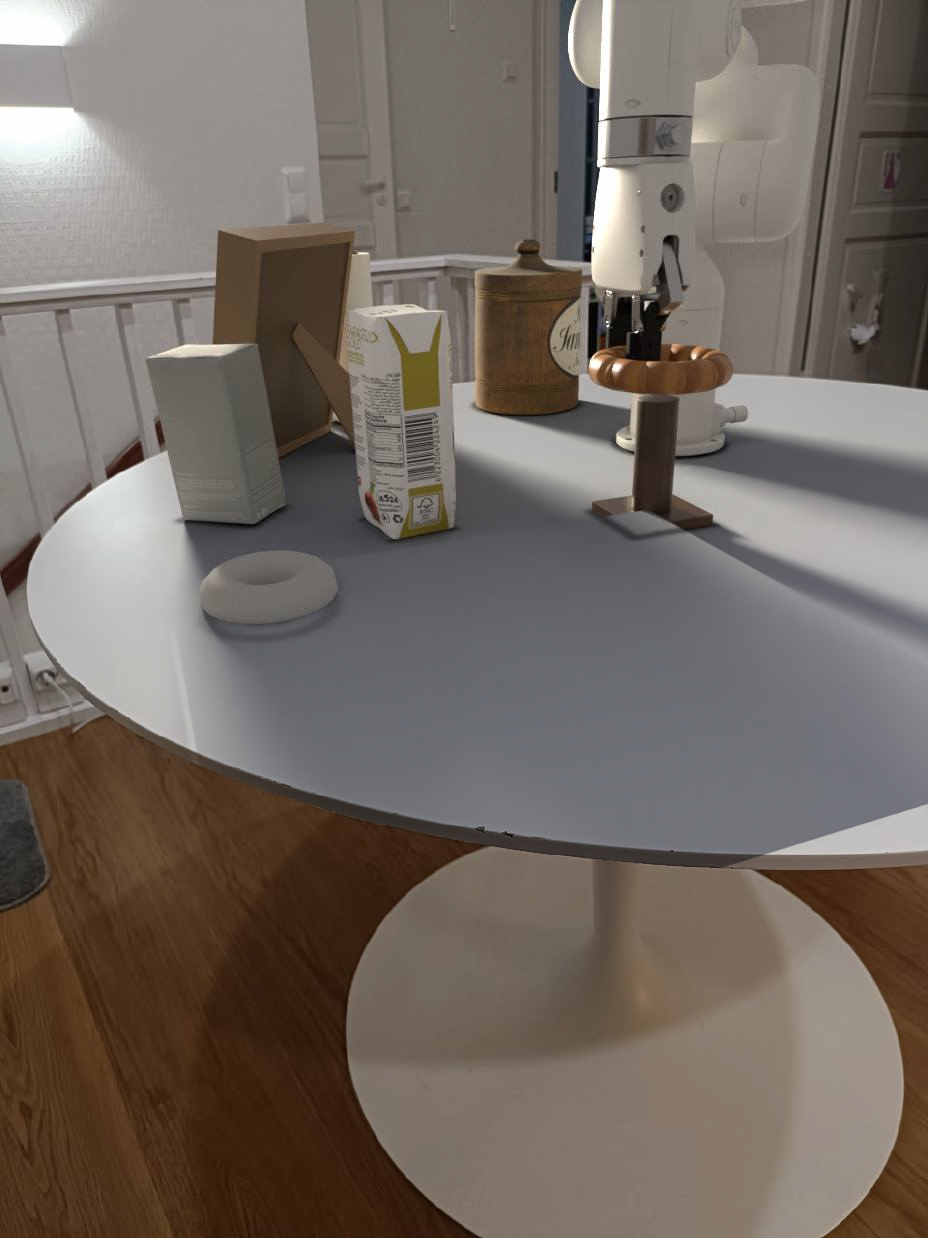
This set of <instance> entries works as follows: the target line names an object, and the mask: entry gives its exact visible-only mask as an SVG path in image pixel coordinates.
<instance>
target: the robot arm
mask: <svg viewBox="0 0 928 1238" xmlns="http://www.w3.org/2000/svg"><path fill="white" fill-rule="evenodd" d="M802 2H807V0H576V1H575V4H574V7H573V10H572V12H571V13H572V14H571V17H570V22H569V29H568V39H567V40H568V43H567V46H568V55H569V62H570V65H571V68H572V70H573V72H574V74H575V76H576V77H577V79H578V81H580V82H581V83H582V84H584V85H585V86H587V87H589V88H592V89H598V90H599V117H598V120H599V122H598V138H597V140H598V141H597V163H596V164H597V166H596V167H597V168H599V169H600V170H599V176H598V181H597V182H598V183H597V190H596V195H595V196H596V197H595V205H594V216H593V227H592V241H591V278H592V281H593V283H594V284H595V285H594V293H595V294H596V296H597V298H598V299H599V300H600V302H601V304H602V305H601V306H602V307H603V311H604V314H603V324H604V326H605V327H606V330H605V331H606V333H605V349H608V348H612V347H616V346H625V345H627V347H626V359H628V360H638V361H659V362H660V356H661V344H679V345H690V346H701V347H706V348H710V349H714V350H719V351H720V348H721V337H722V327H723V326H722V325H723V316H724V307H725V296H726V291H725V290H726V289H725V283H724V278H723V276H722V274H721V272H720V270H719V268H718V267H717V265H716V264H715V262H714V261H713V259H712V258H711V257H710V256H709V254H708V252H707V251H706V249H705V247H704V246H705V245H709V244H717V243H718V244H719V243H720V244H721V243H766V242H776V241H780V240H783V239H785V238H786V237H788V236H789V235H791V234H792V233H793V232H794V231H795V229H796V228H797V226H798V224H799V223H800V220H801V217H802V215H803V211H804V208H805V204H806V199H807V194H808V189H809V182H810V177H811V170H812V164H813V158H814V154H815V153H814V152H815V146H816V140H817V135H818V127H819V121H820V111H821V110H820V107H821V95H820V87H819V82H818V79H817V77H816V75H815V74H814V72H813V70H811V69H810V68H809V67H807V66H805V65H802V64H798V63H779V64H767V65H763V64H762V65H759V51H758V47H757V44H756V42H755V40H754V38H753V37H752V34H750V32H749V31H748V30H747V28H746V27H745V26H744V25H743V16H742V15H743V14H742V9H749V8H758V7H768V6H780V5H789V4H797V3H802ZM625 298H626V299H625ZM716 390H717V388H715V389H713V390H710V391H707V392H700V393H690V394H681V395H672V396H676V397H678V398H679V399H680V401H679V414H678V427H677V440H676V452H675V457H690V456H691V457H692V456H700V455H705V454H710V453H713V452H717V451H718V450H721V449H722V448H723V447H724V445H725V434H724V433H723V432H722V431H721V430H720V429H721V428H722V427H725V425H726V424H738V423H744V422H746V421H747V420H748V417H749V409H748V407H747V406H745V405H737V406H730V407H727V408H726V406H725V405H724V404H720V403H716V402H715V401H716ZM644 395H649V394H636V393H631V400H630V420H629V425H627V426H623V427H621V428H620V429H618V430H617V432H616V435H615V442H616V444H617V445H618V446H619V447H621V448H622V449H624V450H627V451H630V452H634V453H635V435H636V418H637V401H638V397H640V396H644Z"/></svg>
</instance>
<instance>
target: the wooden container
mask: <svg viewBox="0 0 928 1238" xmlns="http://www.w3.org/2000/svg"><path fill="white" fill-rule="evenodd" d="M514 249H515V251H516V253H517V254H518V255H517V256H516V258H515V259H514V260H513V262H511V263H510V264H509V265H507V266H499V267H488V268H480V269H476V270H475V272H474V287H475V288H474V290H475V291H474V296H475V302H474V303H475V306H474V311H475V312H474V317H475V318H474V319H475V320H474V376H475V377H474V378H475V381H474V382H475V383H474V384H475V387H474V389H475V390H474V391H475V406H476V407H477V408H479V409H481V410H482V411H486V412H488V413H492V414H493V413H494V414H500V415H509V416H539V415H551V414H557V413H561V412H565V411H569V410H571V409H573V408H576V406H578V404H579V394H580V393H579V390H580V372H581V371H580V369H581V368H580V367H581V317H582V315H581V314H582V312H581V311H582V288H583V287H582V285H583V269H582V268H581V267H576V266H565V265H550V264H548V263H546V262H545V261H544V260H543V258H542V257H541V256H540V254H539V253H540V250H541V243H540V242H539V241H537V240H536V239H535V238H522V239H521V240H520V241H518V242H517V243H516V244H515V248H514Z"/></svg>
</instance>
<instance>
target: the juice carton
mask: <svg viewBox="0 0 928 1238" xmlns="http://www.w3.org/2000/svg"><path fill="white" fill-rule="evenodd" d="M348 314H349V316H348V333H347V351H348V364H349V377H350V389H351V402H352V414H353V426H354V439H355V447H354V449H355V460H356V461H355V463H356V474H357V485H358V486H357V487H358V495H359V500H360V503H361V507H362V512H363V515H364V517H365V519H366V520H367V521H368V522H369V523H371V524H372V525H374V526H375V527H377V528H378V529H380V530H381V531H382V532H383V533H384V534H385V535H386V536H388V537H389V538H390V539H392V540H400V539H405V538H411V537H415V536H420V535H425V534H431V533H436V532H441V531H445V530H449V529H452V528H454V526H455V515H456V501H457V500H456V498H457V496H456V495H457V488H456V483H457V482H456V455H455V453H456V452H455V423H454V422H455V421H454V420H455V419H454V393H453V392H454V390H453V389H454V388H453V362H452V361H453V360H452V341H451V340H452V339H451V333H450V327H449V326H450V324H449V320H448V319H449V318H448V311H447V310H428V309H425V308H423V307H422V306H419V305H416V304H414V303H410V304H409V303H408V304H388V305H387V304H386V305H376V306H373V307H366V308H357V309H349V310H348Z"/></svg>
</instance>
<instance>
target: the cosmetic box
mask: <svg viewBox="0 0 928 1238" xmlns="http://www.w3.org/2000/svg"><path fill="white" fill-rule="evenodd" d="M145 364H146V368H147V371H148V375H149V380H150V384H151V388H152V392H153V397H154V400H155V405H156V407H157V408H156V409H157V414H158V418H159V423H160V425H161V430H162V434H163V435H162V436H163V439H164V443H165V447H166V452H167V455H168V460H169V464H170V465H169V466H170V468H171V469H170V470H171V473H172V478H173V482H174V486H175V490H176V496H177V499H178V503H179V507H180V511H181V515H182V516H181V517H182V520H184V521H197V522H198V521H199V522H212V523H228V524H229V523H232V524H246V525H255V524H257V523H259V522H260V521H262V520H263V519H265V518H266V517H268V516H269V515H270V514H272V513H273V512H275V511H277V510H278V509H281V508H282V507H285V506H286V505H285V504H286V500H287V498H286V493H285V487H284V481H283V476H282V471H281V465H280V460H279V458H278V453H277V448H276V442H275V437H274V432H273V426H272V420H271V415H270V410H269V404H268V399H267V393H266V388H265V382H264V377H263V371H262V366H261V360H260V355H259V350H258V344H230V345H213V344H182V345H181V346H178V347H175V348H172V349H170V350H167V351H164V352H161V353H157V354H154V355H152V356H148V357H146V358H145Z"/></svg>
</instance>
